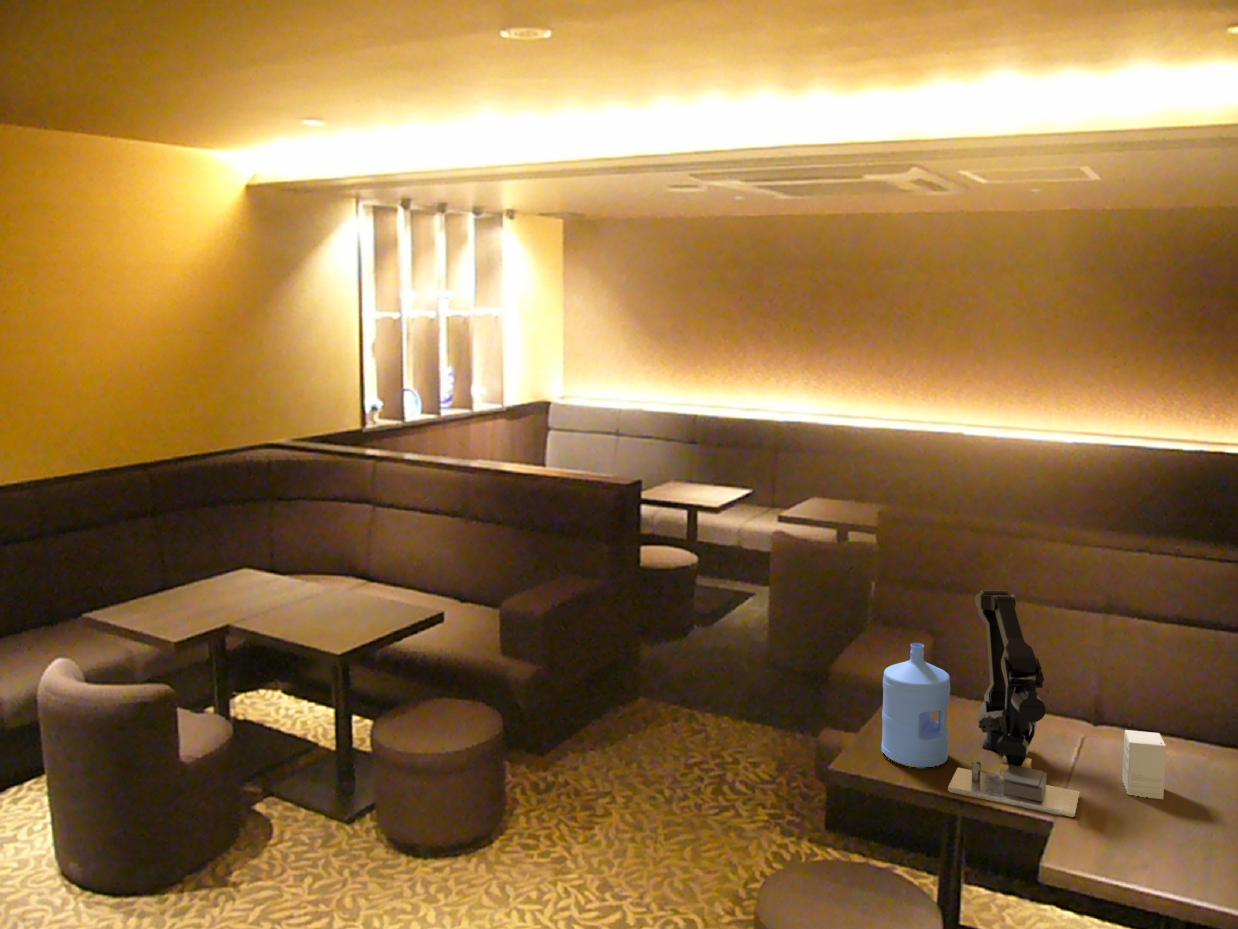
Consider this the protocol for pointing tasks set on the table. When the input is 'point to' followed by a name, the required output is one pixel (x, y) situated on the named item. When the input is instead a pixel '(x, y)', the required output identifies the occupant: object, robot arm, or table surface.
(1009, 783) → the box
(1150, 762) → the supplement box
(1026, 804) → the pin plate
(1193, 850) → the table surface
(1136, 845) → the table surface
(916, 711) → the water jug
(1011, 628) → the robot arm
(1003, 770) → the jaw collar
